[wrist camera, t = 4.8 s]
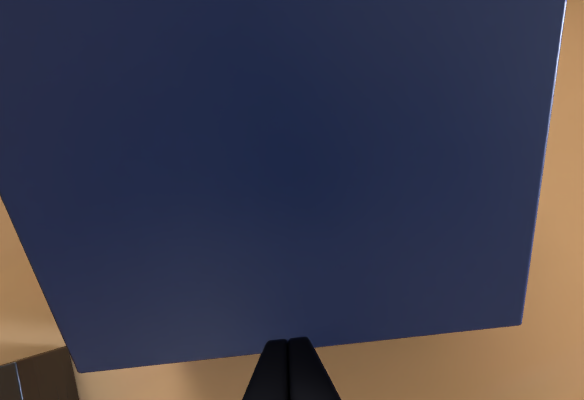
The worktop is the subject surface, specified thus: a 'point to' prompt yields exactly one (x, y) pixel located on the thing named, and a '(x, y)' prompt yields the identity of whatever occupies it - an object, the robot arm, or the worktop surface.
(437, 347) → the worktop surface
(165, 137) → the lid
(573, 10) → the worktop surface
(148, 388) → the worktop surface
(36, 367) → the red push button box
